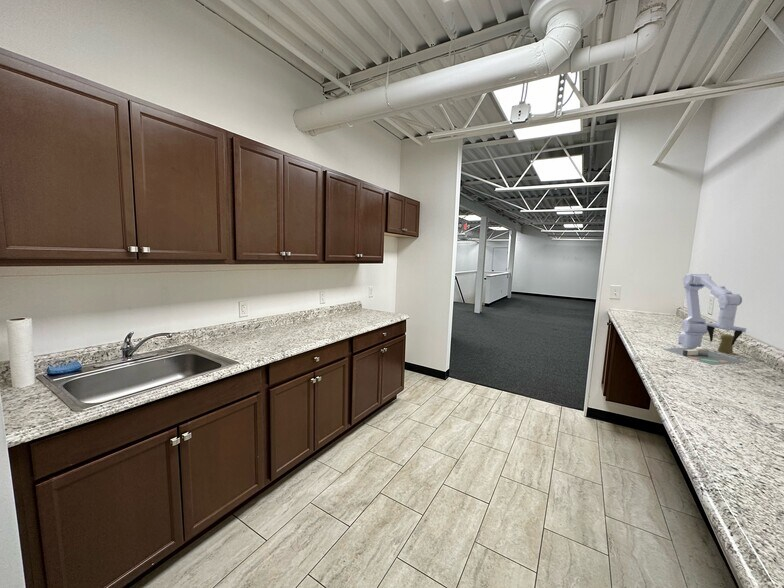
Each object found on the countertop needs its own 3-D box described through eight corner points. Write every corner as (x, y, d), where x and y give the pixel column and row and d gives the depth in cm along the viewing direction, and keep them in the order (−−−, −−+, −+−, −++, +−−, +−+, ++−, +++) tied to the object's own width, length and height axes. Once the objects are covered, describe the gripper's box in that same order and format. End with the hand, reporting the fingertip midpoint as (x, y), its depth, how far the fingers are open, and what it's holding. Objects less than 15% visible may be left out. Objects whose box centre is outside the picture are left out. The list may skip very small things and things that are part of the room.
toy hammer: (698, 352, 168) (699, 346, 168) (710, 355, 163) (711, 349, 162) (678, 353, 166) (679, 347, 165) (689, 356, 160) (690, 350, 160)
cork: (736, 356, 167) (739, 336, 165) (722, 355, 168) (726, 335, 166) (726, 352, 173) (730, 333, 171) (713, 351, 174) (717, 332, 172)
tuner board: (661, 350, 174) (661, 348, 174) (694, 349, 178) (694, 346, 178) (711, 367, 151) (711, 364, 150) (747, 364, 154) (748, 362, 154)
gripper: (705, 315, 160) (701, 340, 162) (747, 321, 149) (742, 347, 151) (707, 313, 164) (703, 338, 166) (748, 319, 153) (743, 345, 155)
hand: (721, 342), depth 159 cm, fingers open, 7 cm apart
